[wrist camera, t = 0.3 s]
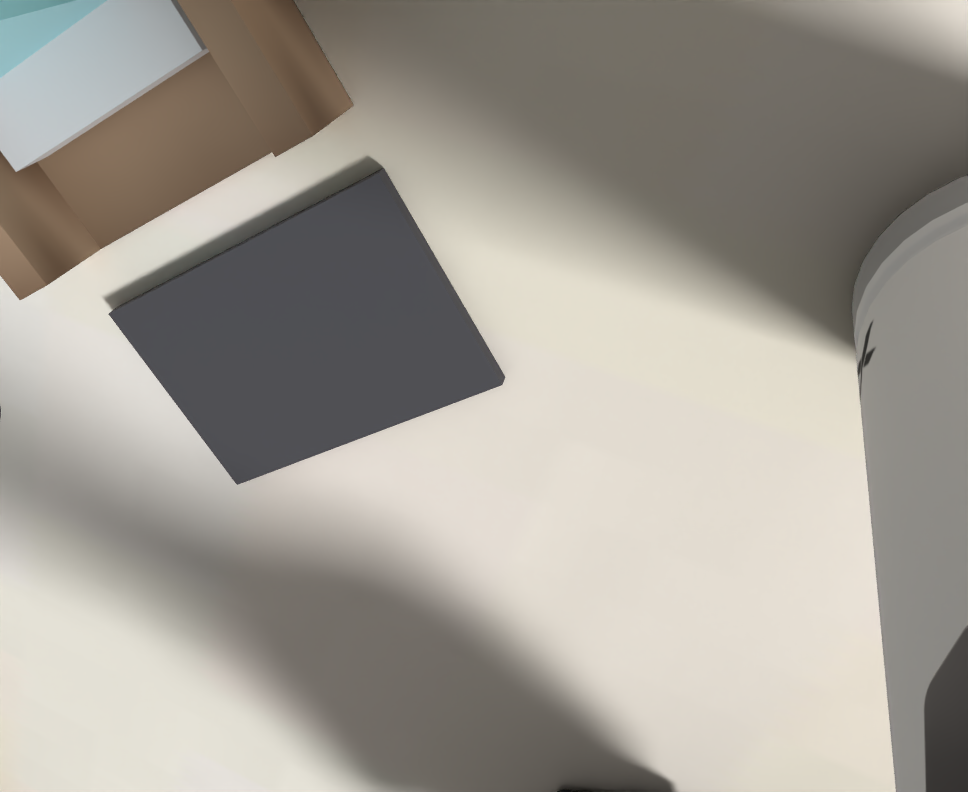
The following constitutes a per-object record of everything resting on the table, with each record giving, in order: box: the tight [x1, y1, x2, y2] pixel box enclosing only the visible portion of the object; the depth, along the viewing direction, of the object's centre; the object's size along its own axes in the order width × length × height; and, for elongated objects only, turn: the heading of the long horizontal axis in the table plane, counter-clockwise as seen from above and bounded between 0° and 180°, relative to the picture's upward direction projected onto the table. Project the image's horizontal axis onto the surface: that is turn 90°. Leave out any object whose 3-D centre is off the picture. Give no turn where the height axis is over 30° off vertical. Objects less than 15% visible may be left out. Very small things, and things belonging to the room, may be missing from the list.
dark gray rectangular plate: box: [109, 168, 505, 485], centre depth 24 cm, size 6×9×1 cm, turn 119°
